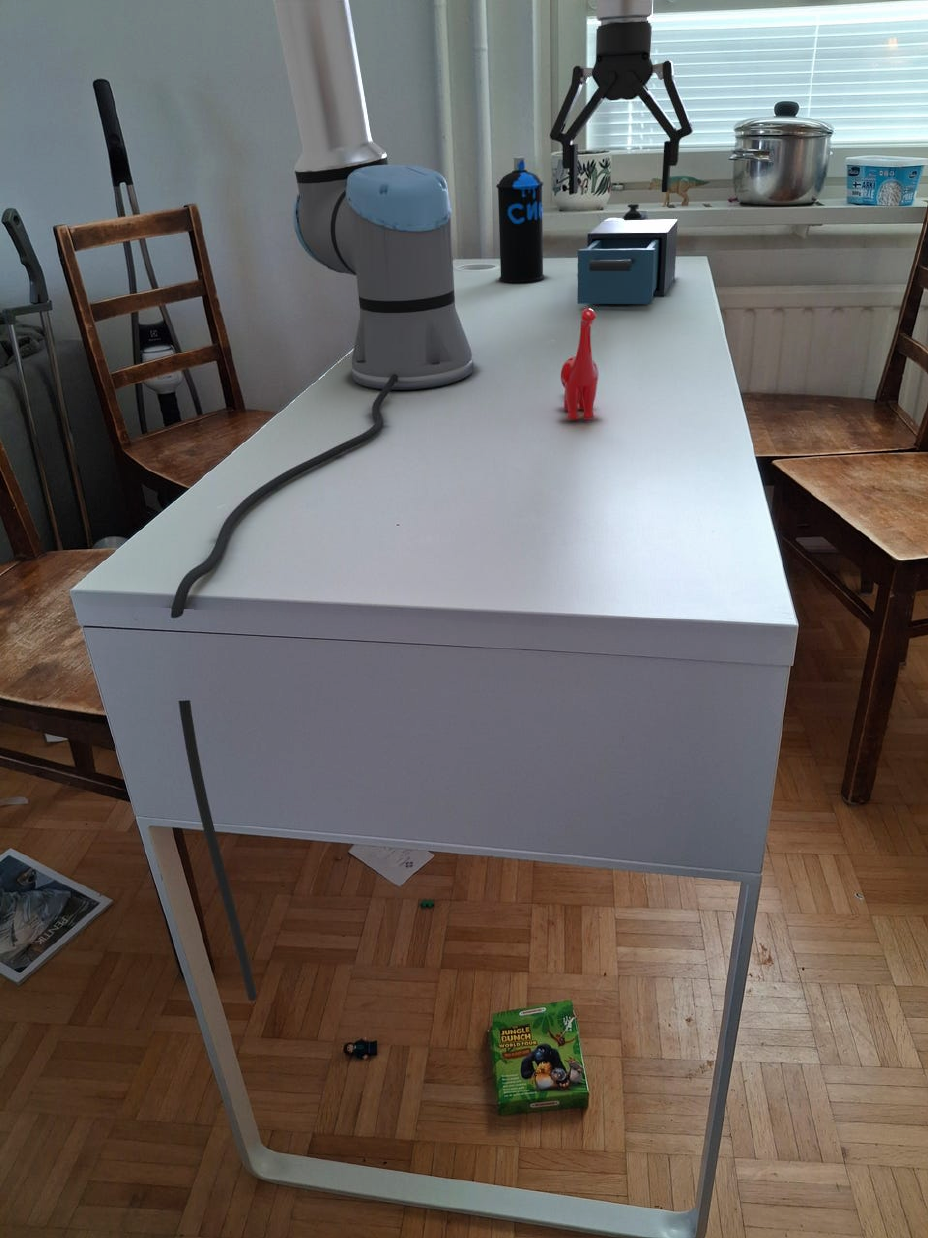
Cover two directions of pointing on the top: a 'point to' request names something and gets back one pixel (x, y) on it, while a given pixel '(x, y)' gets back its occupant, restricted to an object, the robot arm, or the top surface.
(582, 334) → the dinosaur
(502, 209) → the aerosol can
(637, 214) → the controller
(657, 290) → the cabinet
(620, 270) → the drawer
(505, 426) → the top surface
